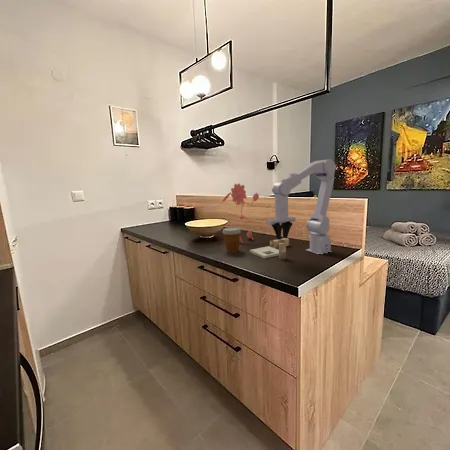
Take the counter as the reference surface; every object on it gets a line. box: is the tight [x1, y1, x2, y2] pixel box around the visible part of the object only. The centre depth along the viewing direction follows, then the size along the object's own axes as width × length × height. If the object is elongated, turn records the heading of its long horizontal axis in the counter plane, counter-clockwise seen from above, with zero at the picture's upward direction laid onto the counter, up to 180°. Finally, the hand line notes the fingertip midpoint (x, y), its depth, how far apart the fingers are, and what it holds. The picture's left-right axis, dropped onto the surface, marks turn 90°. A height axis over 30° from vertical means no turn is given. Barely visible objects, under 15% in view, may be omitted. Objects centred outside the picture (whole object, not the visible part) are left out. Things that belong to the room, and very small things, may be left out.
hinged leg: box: [269, 237, 290, 249], centre depth 136 cm, size 11×2×5 cm, turn 114°
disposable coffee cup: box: [222, 226, 242, 254], centre depth 133 cm, size 10×10×12 cm
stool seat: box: [249, 245, 279, 259], centre depth 126 cm, size 13×12×1 cm
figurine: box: [221, 183, 260, 244], centre depth 153 cm, size 15×26×35 cm, turn 128°
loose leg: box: [278, 243, 287, 260], centre depth 116 cm, size 3×3×7 cm
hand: (282, 238), depth 116 cm, fingers open, 3 cm apart
